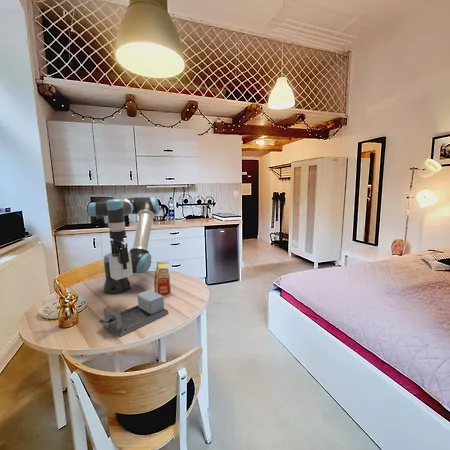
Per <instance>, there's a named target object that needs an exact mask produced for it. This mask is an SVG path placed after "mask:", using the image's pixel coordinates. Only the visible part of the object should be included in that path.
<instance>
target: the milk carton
mask: <svg viewBox="0 0 450 450" xmlns="http://www.w3.org/2000/svg"><path fill="white" fill-rule="evenodd" d="M169 263H170V262H169V261H167V262H162V261H161V262H160V261H156V267H155V272H154V278H153V279H154V280H153V289H154V290H153V291H154V292H156V293H158V294H160V295H162V296H163V298H166V296H167V297H169V296H172V284H171V278H170V277H171V276H170V272H169Z"/></svg>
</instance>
